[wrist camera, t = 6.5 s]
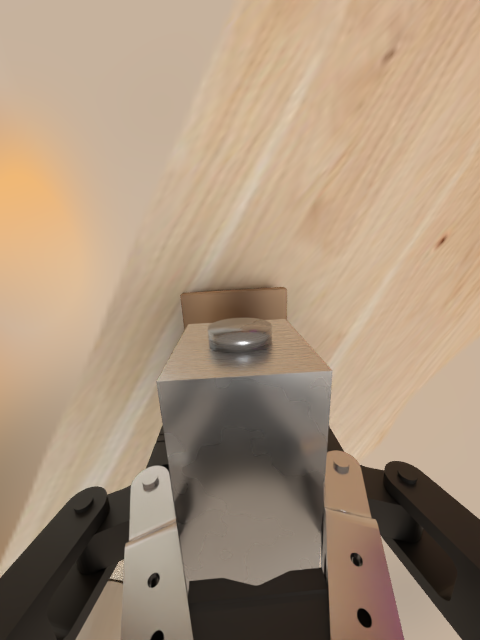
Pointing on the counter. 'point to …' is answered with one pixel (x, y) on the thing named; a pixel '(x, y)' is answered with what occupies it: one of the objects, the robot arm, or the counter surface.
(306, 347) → the block
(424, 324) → the counter surface
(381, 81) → the counter surface
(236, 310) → the stand
